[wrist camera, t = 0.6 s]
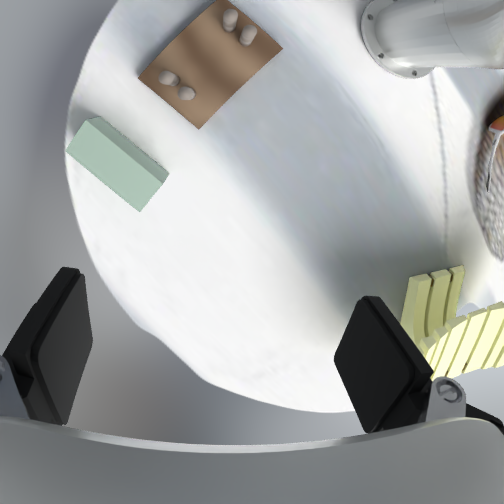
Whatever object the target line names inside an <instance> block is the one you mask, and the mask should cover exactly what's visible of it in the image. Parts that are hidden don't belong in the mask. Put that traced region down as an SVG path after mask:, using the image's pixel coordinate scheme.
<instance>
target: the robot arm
mask: <svg viewBox="0 0 504 504" xmlns="http://www.w3.org/2000/svg"><path fill="white" fill-rule="evenodd" d="M368 18H369V19H368ZM361 31H362V37H363V40H364V43H365V45H366V47H367V49H368V51H369V53H370V54H371V56H372V57H373V58H374V60H375V61H376V62H377V63H378V64H379V65H380V66H381V67H382V68H384V69H385V70H386V71H388V72H389V73H391V74H393V75H395V76H398V77H402V78H409V79H416V78H420V77H424V76H426V75H427V74H429V73H430V72H431V71H432V70H433V69H434V68H435V67H463V68H485V69H504V0H373V1H372V2H370V3H369V4H368V6H367V7H366V8H365V10H364V12H363V15H362V20H361ZM378 55H379V57H378ZM92 341H93V338H92V331H91V324H90V317H89V311H88V302H87V294H86V284H85V276H84V275H83V274H80V271H79V269H75V268H69V267H62V268H61V269H60V270H59V272H58V273H57V274H56V276H55V277H54V278H53V280H52V281H51V283H50V284H49V285H48V287H47V288H46V290H45V291H44V293H43V294H42V295H41V297H40V299H39V300H38V302H37V303H35V304H34V305H33V306H32V308H31V309H30V311H29V313H28V314H27V316H26V317H25V319H24V320H23V322H22V323H21V325H20V327H19V328H18V330H17V331H16V333H15V335H14V336H13V338H12V340H11V341H10V343H9V345H8V346H7V348H6V350H5V351H4V353H3V355H2V356H1V355H0V504H504V426H503V423H502V421H501V420H500V419H498V418H496V417H494V416H492V415H490V414H488V413H486V412H483V411H481V410H479V409H477V408H475V407H473V406H471V405H469V404H466V394H465V392H464V389H463V388H462V387H461V386H460V384H459V383H457V382H456V381H455V380H453V379H451V378H449V377H445V376H440V377H436V378H435V379H434V380H433V381H432V380H431V379H430V377H431V376H432V374H433V373H434V370H433V369H432V368H431V366H430V365H429V363H428V362H427V360H426V359H425V358H424V356H423V355H422V353H421V352H420V351H419V349H418V348H417V346H416V345H415V344H414V342H413V341H412V339H411V338H410V337H409V335H408V334H407V333H406V331H405V330H404V329H403V327H402V326H401V325H400V323H399V322H398V321H397V319H396V318H395V317H394V315H393V314H392V313H391V311H390V310H389V309H388V307H387V306H386V305H385V303H384V302H383V301H382V300H381V298H380V297H377V296H364V297H362V299H361V300H359V301H358V302H357V304H356V306H355V308H354V311H353V313H352V316H351V318H350V320H349V323H348V325H347V328H346V330H345V332H344V334H343V337H342V339H341V341H340V344H339V346H338V348H337V350H336V352H335V355H334V363H335V365H336V368H337V370H338V372H339V374H340V377H341V379H342V381H343V384H344V386H345V388H346V390H347V393H348V395H349V397H350V400H351V402H352V404H353V406H354V409H355V411H356V413H357V415H358V418H359V420H360V423H361V425H362V427H363V430H364V431H365V432H366V433H368V434H364V435H358V436H351V437H344V438H338V439H329V440H321V441H311V442H301V443H288V444H272V445H198V444H197V445H195V444H181V443H167V442H157V441H148V440H140V439H132V438H125V437H119V436H112V435H106V434H100V433H94V432H89V431H84V430H79V429H74V428H69V427H65V426H62V424H64V425H66V424H67V422H68V419H69V415H70V412H71V408H72V405H73V401H74V399H75V395H76V392H77V389H78V386H79V383H80V380H81V377H82V374H83V371H84V367H85V364H86V362H87V359H88V356H89V353H90V351H91V348H92Z"/></svg>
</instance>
